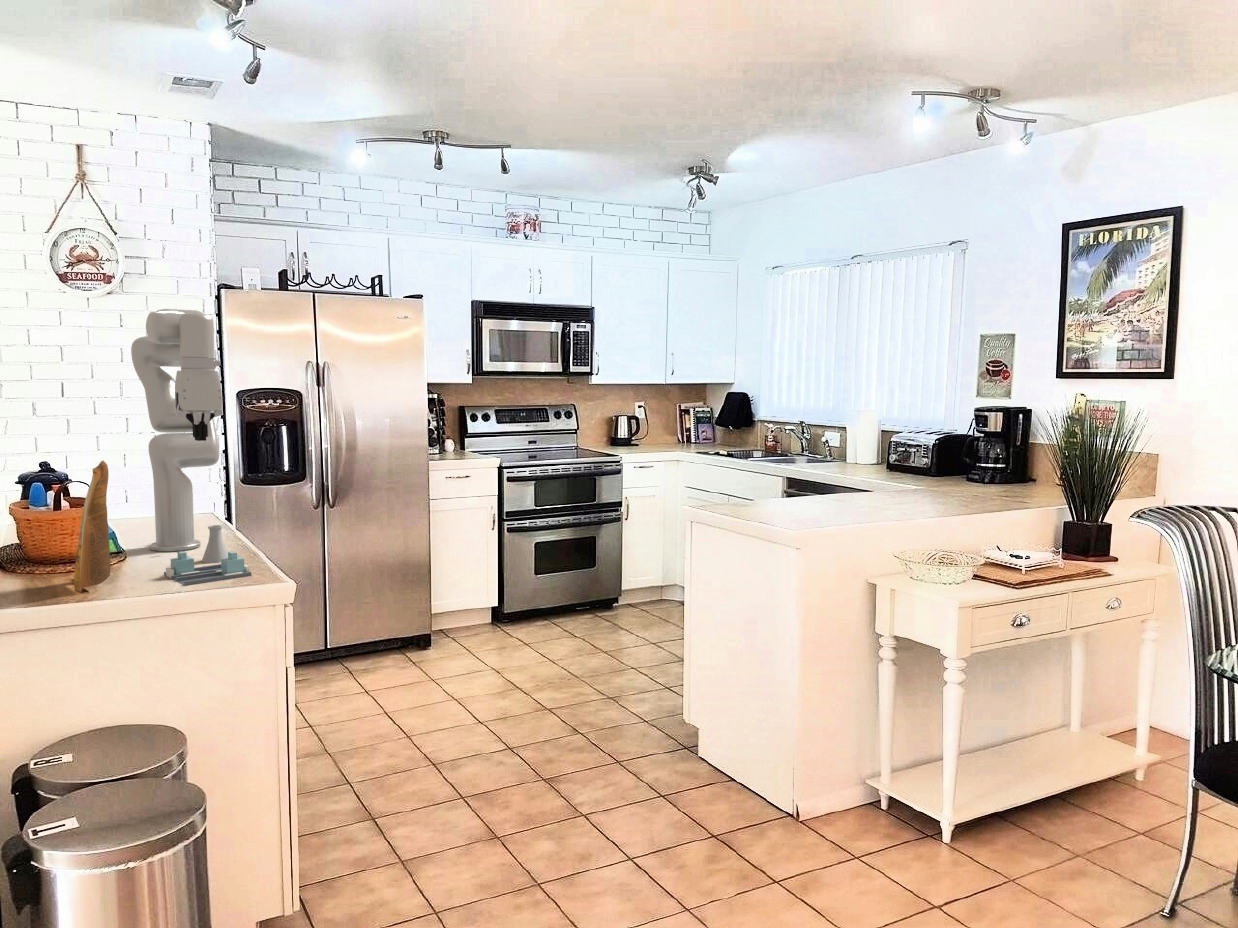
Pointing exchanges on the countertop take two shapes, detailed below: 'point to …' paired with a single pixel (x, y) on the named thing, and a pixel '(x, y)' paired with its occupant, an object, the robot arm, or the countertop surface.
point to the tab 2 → (232, 564)
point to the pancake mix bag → (93, 534)
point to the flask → (215, 546)
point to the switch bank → (204, 575)
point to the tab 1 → (182, 563)
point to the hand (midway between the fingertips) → (200, 440)
